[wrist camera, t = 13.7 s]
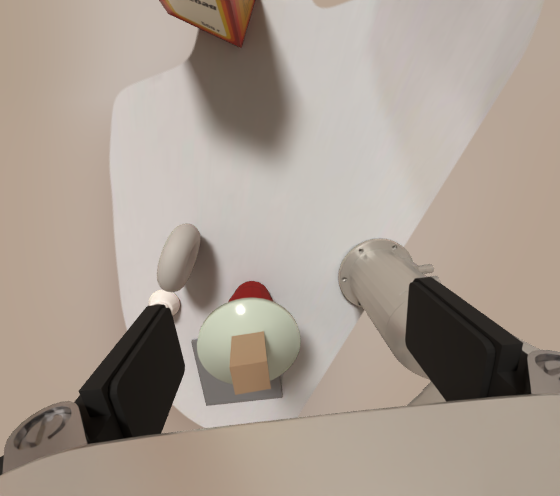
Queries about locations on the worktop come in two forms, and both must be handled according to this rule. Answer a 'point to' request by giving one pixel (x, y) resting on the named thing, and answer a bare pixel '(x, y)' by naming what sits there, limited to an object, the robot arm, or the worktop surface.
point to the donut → (178, 257)
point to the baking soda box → (214, 16)
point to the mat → (230, 387)
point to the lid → (248, 343)
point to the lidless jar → (165, 300)
